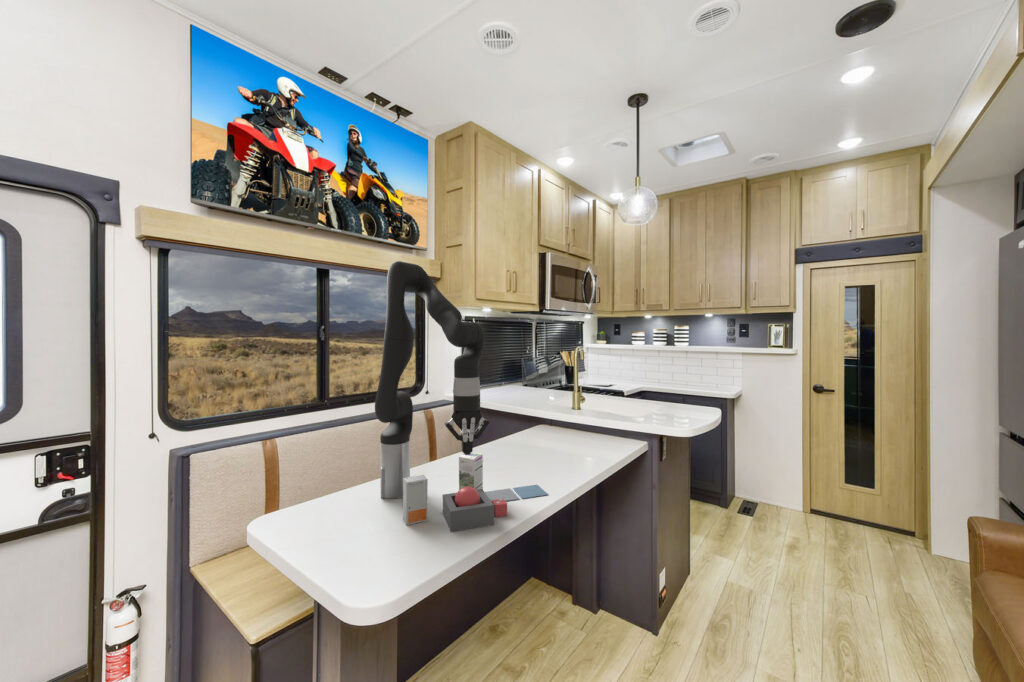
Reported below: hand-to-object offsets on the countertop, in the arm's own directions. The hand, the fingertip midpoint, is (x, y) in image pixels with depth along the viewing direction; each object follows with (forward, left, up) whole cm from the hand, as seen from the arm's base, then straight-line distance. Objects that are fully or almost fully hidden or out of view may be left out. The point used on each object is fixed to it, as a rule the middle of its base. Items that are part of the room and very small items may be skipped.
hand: (467, 454), depth 114 cm
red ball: (0, 0, -16) cm, 16 cm away
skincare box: (-14, +4, -19) cm, 24 cm away
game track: (+14, +12, -18) cm, 26 cm away
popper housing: (+3, 0, -18) cm, 19 cm away
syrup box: (+4, +12, -19) cm, 22 cm away
